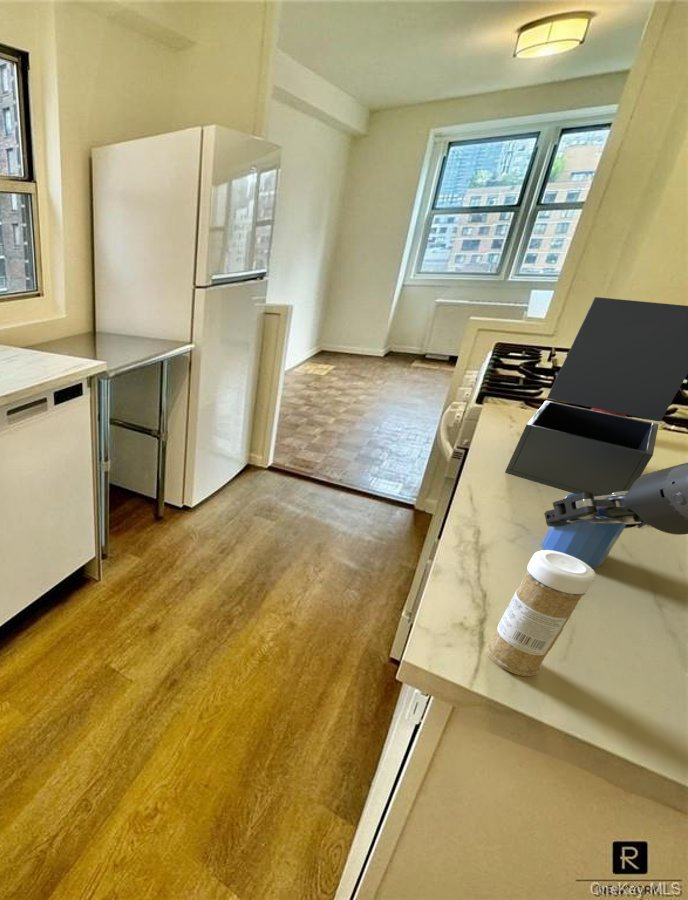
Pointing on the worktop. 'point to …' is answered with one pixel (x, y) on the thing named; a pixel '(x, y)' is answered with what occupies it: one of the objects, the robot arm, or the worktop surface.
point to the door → (626, 358)
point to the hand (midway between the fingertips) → (576, 521)
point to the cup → (584, 539)
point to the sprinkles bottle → (539, 611)
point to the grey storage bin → (583, 449)
